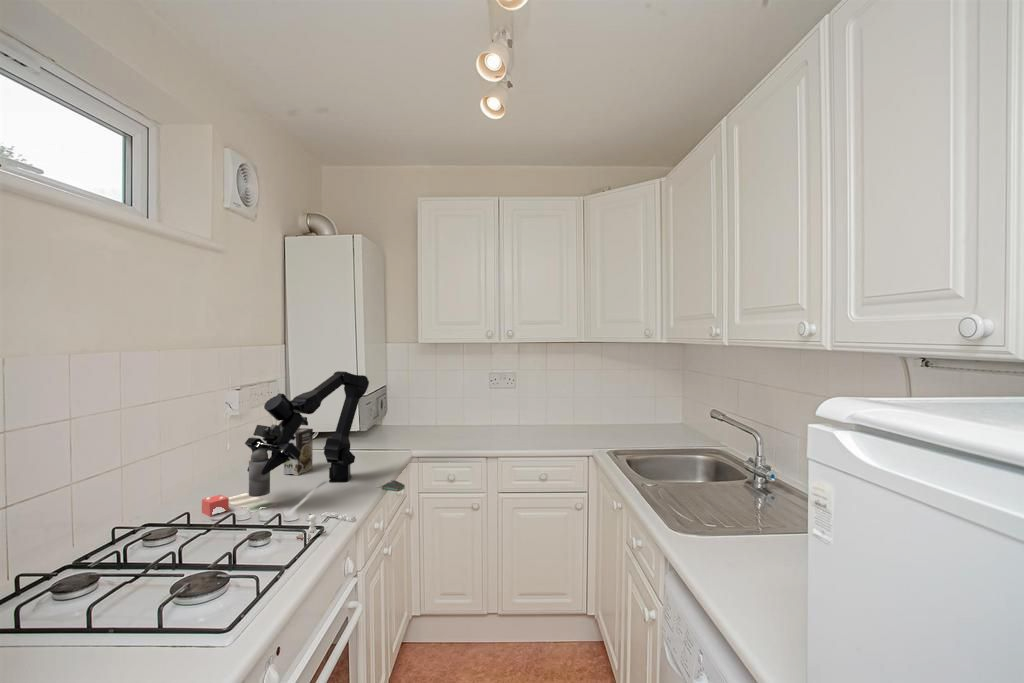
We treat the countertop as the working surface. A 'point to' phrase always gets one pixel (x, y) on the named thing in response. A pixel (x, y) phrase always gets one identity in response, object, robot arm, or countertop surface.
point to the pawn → (258, 474)
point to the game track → (249, 502)
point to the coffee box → (306, 447)
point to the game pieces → (388, 486)
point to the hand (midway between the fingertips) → (255, 472)
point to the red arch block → (214, 504)
